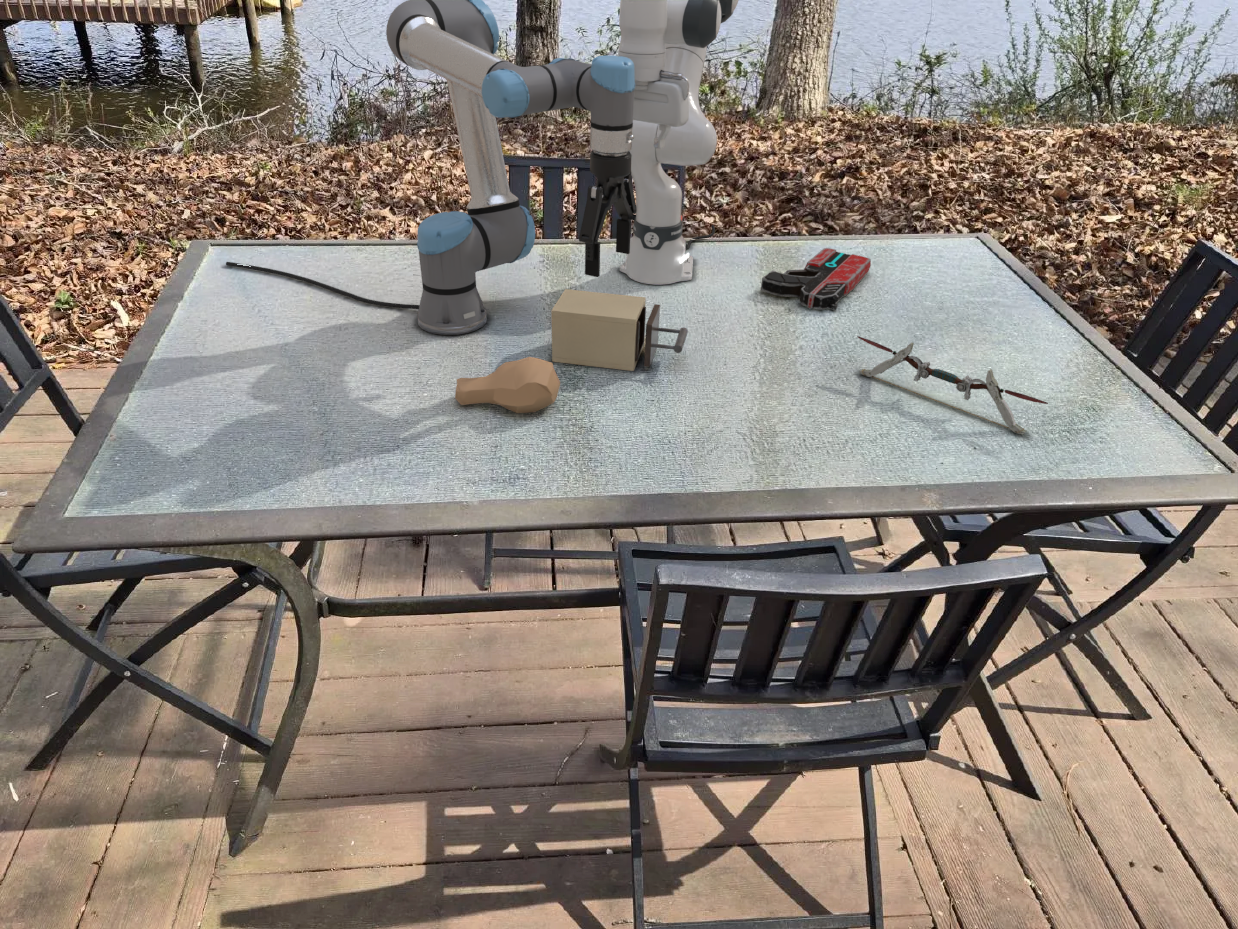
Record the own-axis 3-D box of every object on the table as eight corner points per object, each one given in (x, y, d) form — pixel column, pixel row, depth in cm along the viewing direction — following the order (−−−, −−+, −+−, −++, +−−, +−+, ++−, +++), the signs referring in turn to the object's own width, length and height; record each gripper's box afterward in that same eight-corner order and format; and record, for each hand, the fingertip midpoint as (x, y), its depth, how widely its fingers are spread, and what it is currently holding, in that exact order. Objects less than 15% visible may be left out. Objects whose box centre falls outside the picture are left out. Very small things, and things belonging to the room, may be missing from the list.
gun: (758, 278, 211) (834, 298, 203) (804, 240, 233) (875, 256, 225) (755, 296, 213) (831, 316, 205) (802, 256, 235) (872, 273, 227)
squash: (562, 419, 163) (554, 381, 157) (456, 427, 164) (445, 390, 158) (565, 383, 171) (557, 345, 164) (464, 391, 172) (453, 354, 166)
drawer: (687, 348, 186) (690, 307, 181) (680, 370, 178) (683, 328, 173) (585, 337, 190) (585, 296, 184) (574, 358, 181) (574, 316, 176)
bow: (1038, 437, 161) (1054, 389, 156) (1034, 440, 160) (1051, 392, 155) (853, 367, 183) (861, 323, 177) (848, 370, 182) (857, 326, 176)
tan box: (643, 347, 189) (645, 297, 182) (633, 371, 179) (635, 319, 173) (565, 338, 191) (565, 288, 185) (552, 361, 182) (551, 310, 176)
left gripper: (599, 171, 147) (596, 289, 159) (657, 138, 166) (651, 246, 178) (559, 164, 150) (560, 281, 162) (621, 133, 169) (617, 240, 181)
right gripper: (697, 72, 163) (692, 148, 171) (606, 59, 172) (604, 133, 180) (681, 76, 158) (676, 155, 166) (587, 63, 167) (587, 138, 175)
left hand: (607, 263), depth 170 cm, fingers open, 13 cm apart
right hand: (638, 143), depth 173 cm, fingers open, 8 cm apart
